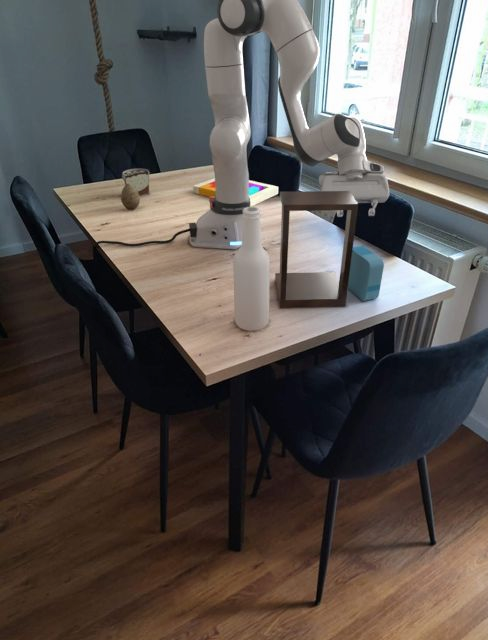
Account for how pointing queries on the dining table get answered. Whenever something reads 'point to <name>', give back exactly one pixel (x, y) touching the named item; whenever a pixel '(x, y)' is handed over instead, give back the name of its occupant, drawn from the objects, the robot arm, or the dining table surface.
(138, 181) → the food container
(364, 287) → the data package
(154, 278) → the dining table surface
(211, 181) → the puzzle game
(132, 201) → the decorative egg
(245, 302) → the alcohol
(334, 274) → the shelf
